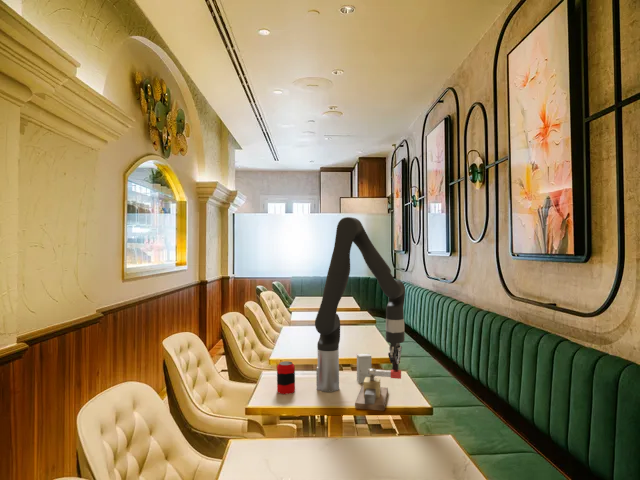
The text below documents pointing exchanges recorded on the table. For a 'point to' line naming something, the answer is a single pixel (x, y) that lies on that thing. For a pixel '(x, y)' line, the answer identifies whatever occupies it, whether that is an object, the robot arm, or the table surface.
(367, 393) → the valve stand
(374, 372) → the valve lever
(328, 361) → the robot arm
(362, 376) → the skincare box
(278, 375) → the soda can
